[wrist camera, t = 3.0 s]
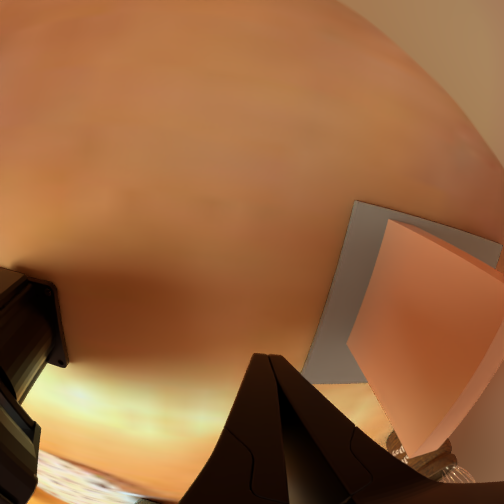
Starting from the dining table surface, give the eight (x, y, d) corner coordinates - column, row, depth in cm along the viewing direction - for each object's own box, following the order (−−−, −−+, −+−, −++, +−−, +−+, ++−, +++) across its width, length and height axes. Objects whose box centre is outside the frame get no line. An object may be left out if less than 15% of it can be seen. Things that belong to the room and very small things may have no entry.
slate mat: (443, 371, 20) (445, 374, 20) (298, 379, 18) (299, 383, 18) (499, 243, 16) (503, 245, 16) (354, 200, 14) (357, 201, 14)
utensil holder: (440, 416, 23) (488, 492, 12) (397, 451, 24) (434, 528, 13) (420, 406, 22) (475, 497, 10) (371, 445, 23) (411, 537, 12)
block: (372, 344, 17) (439, 448, 9) (346, 343, 17) (409, 458, 9) (415, 225, 15) (536, 294, 6) (388, 218, 15) (515, 291, 6)
